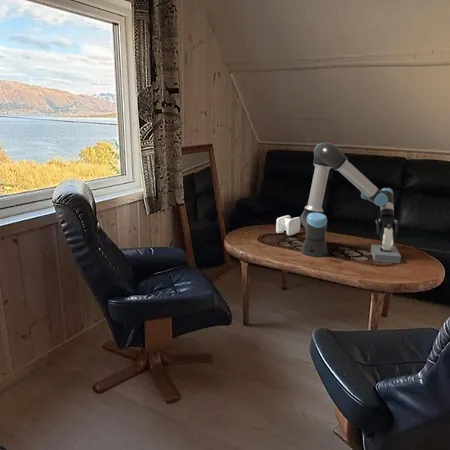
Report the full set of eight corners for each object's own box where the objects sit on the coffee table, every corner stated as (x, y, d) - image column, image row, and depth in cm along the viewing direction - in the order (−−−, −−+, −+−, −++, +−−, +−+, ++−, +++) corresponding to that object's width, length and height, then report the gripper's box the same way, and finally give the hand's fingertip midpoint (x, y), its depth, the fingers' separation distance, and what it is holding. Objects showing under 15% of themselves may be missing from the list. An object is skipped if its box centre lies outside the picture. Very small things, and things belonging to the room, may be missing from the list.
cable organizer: (287, 237, 284) (288, 220, 281) (275, 234, 291) (275, 217, 288) (300, 232, 294) (301, 216, 291) (287, 230, 301) (288, 214, 298)
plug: (383, 249, 245) (386, 225, 241) (382, 247, 249) (384, 222, 245) (390, 250, 244) (393, 225, 240) (389, 247, 248) (392, 223, 244)
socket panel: (374, 261, 240) (374, 254, 239) (370, 250, 259) (371, 244, 258) (400, 263, 237) (401, 256, 236) (394, 252, 256) (395, 246, 255)
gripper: (400, 215, 255) (402, 249, 243) (371, 213, 258) (371, 247, 247) (403, 208, 248) (404, 243, 237) (373, 207, 252) (373, 241, 241)
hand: (387, 245), depth 242 cm, fingers closed on plug, 4 cm apart
